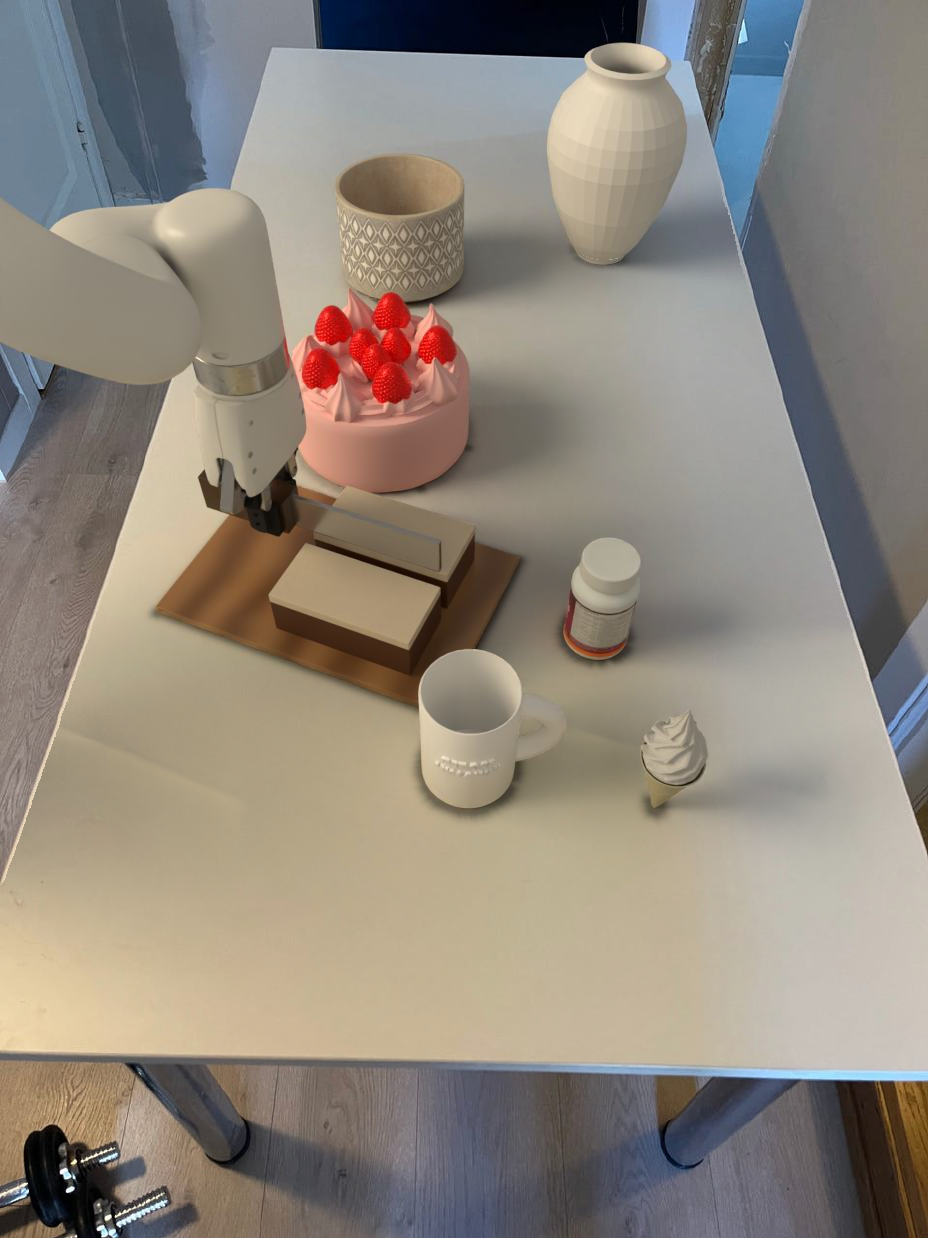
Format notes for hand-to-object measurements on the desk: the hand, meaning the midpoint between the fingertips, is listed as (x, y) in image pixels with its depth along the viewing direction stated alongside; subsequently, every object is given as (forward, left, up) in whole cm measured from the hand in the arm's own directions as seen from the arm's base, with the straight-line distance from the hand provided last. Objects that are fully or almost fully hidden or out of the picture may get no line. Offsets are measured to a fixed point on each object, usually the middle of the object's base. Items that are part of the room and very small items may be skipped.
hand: (276, 517), depth 86 cm
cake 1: (0, +22, -7) cm, 23 cm away
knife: (+5, 0, 0) cm, 5 cm away
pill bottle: (+31, +4, -7) cm, 33 cm away
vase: (+11, +70, -7) cm, 71 cm away
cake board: (+6, 0, -7) cm, 10 cm away
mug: (+27, -13, -7) cm, 31 cm away
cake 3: (+10, -4, -6) cm, 13 cm away
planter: (-12, +53, -7) cm, 55 cm away
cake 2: (+10, +4, -6) cm, 13 cm away
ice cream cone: (+41, -11, -7) cm, 43 cm away
